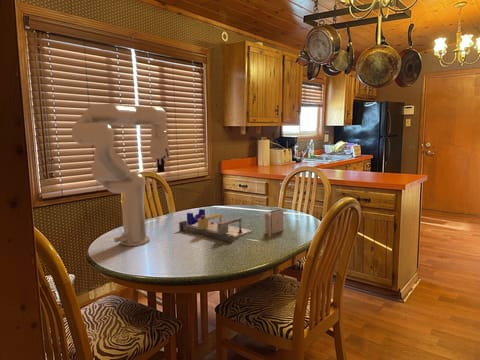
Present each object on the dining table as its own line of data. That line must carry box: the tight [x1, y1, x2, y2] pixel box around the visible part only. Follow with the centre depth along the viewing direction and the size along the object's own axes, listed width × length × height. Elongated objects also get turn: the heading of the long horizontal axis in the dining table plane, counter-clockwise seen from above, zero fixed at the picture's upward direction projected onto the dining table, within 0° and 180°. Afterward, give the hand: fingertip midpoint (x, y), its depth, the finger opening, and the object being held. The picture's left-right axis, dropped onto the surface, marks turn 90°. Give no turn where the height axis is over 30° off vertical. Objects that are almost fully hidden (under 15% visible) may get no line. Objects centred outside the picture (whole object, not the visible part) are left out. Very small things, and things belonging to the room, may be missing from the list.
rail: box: [178, 220, 234, 244], centre depth 171 cm, size 4×33×4 cm, turn 49°
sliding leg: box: [197, 213, 223, 230], centre depth 175 cm, size 15×2×8 cm, turn 139°
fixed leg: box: [216, 217, 243, 235], centre depth 167 cm, size 15×2×7 cm, turn 139°
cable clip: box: [186, 208, 206, 226], centre depth 198 cm, size 12×4×6 cm, turn 148°
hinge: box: [264, 209, 284, 237], centre depth 174 cm, size 14×5×10 cm, turn 143°
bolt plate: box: [195, 221, 253, 239], centre depth 180 cm, size 12×28×1 cm, turn 49°
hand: (161, 172), depth 181 cm, fingers closed
